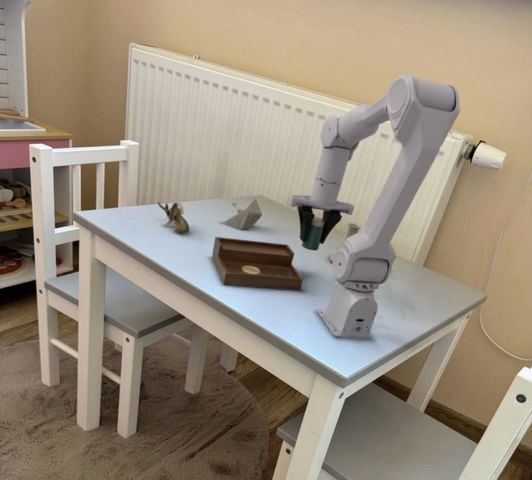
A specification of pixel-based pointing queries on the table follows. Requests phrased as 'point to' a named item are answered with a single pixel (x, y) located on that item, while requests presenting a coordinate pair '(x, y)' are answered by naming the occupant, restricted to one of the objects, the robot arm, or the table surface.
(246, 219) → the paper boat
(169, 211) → the eagle figurine
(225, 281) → the spice shelf
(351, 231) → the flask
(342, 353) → the table surface
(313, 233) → the cylinder
